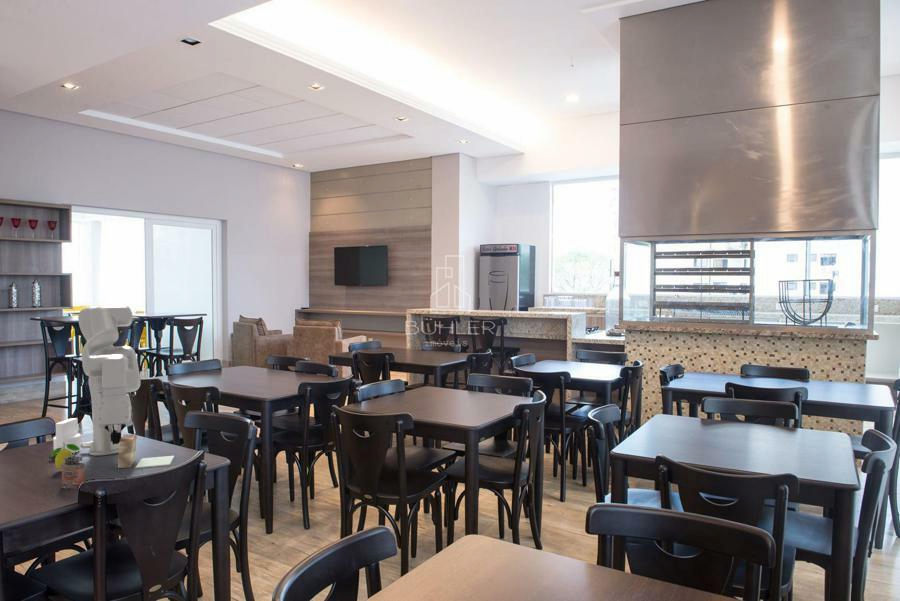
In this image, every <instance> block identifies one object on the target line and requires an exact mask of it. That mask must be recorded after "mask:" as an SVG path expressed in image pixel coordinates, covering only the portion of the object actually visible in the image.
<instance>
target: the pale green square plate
mask: <svg viewBox="0 0 900 601" xmlns="http://www.w3.org/2000/svg"><path fill="white" fill-rule="evenodd" d="M174 458H175V455H169V456H168V455H166V456H156V457H155V456H154V457H153V456H152V457H143V458H142V457H141V459H140V460H139V461H138V463H137V465H136V466H135V469H146V468H148V469H149V468H157V467H167V466H168V467H169V466H171V465H172V462H173V461H174Z"/></svg>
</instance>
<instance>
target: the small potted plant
mask: <svg viewBox="0 0 900 601" xmlns="http://www.w3.org/2000/svg"><path fill="white" fill-rule="evenodd" d="M64 458H65V463H61V467H62V469H61V488H62V487H65V488H64V489H67V488H74V489H73V490H79V489H78V488H79V486H80V484H81V483H82V482H84V481H86V480H85V463H84V462H82V461H83V457H82V456H77V455H74V454H73V455H72V456H66V457H64Z"/></svg>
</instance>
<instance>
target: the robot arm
mask: <svg viewBox="0 0 900 601" xmlns="http://www.w3.org/2000/svg"><path fill="white" fill-rule="evenodd" d="M77 316H78V317H77V318H78V324H79V329H80V331H81V333H82V336H83V337H84V339H85V340H86V343H84V346H83V348H82V351H81V362H82V369H83V372H84V374H85V376H88V386H89V387H88V388H89V393H90V397H91V413H92V414H91V415H92V416H91V417H92V418H91V420H92V440H91V441H87V442H86V441H85V442H81V449H88V454H89V455H90V456H97V457H98V456H99V457H100V456H109V455H114V454H119V444H120V439H121V438H122V431H124V429H125V428H127V427H131V426H133V424H134V423H133V412H132V411H133V410H132V404H131V403H132V402H131V399H130V395H129V393H132V392H136V391H138V390H139V388H140V387H141V383H142V382H141V376H140V369H139V363H138V357H137V354H136V351H135V349H134V348H133V347H132V346H129V345H121V346H114V344H115V343H116V342H117V341H118V339H119V331H118V330H119V329H118V327H130V326H131V325H132V322H133V318H134V317H133V311H132V310H131V307H129V305H126V304H124V305H123V304H118V305H117V304H114V305H98V306H88V307H84V308H83V309H81V310H80V311H79V312H78V314H77Z"/></svg>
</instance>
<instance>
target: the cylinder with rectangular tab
mask: <svg viewBox="0 0 900 601" xmlns="http://www.w3.org/2000/svg"><path fill="white" fill-rule="evenodd" d="M78 422H79V420H78V417H73V418H68V419H65V420H62V421H60V422H57V423H55V436H53V439H52V440H53V441H52V442H53V451H54V450H55V449H57V448H62V447H63V448H62V449H64V446H65V449H67V450H70V449H68V448H67V446H66V445H68V444H74V445H76V446H78V448H79V449H80V450H77V451H75V450H70V451H71V452H72V453H73V454H76V453H75V452H77V453H79V452H81V451H82V448H81V443H82V434H81V433H79V424H78ZM63 442H64V444H65V445H64V444H63ZM62 449H61V450H62ZM61 450H60V451H61ZM78 451H79V452H78Z"/></svg>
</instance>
